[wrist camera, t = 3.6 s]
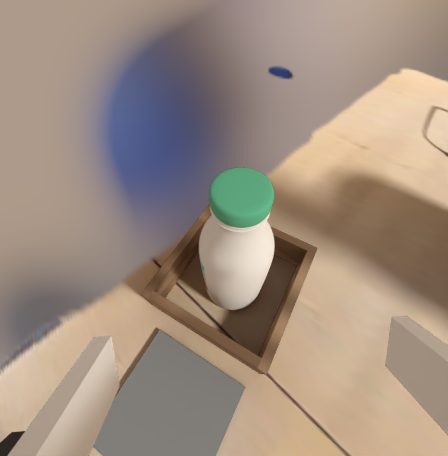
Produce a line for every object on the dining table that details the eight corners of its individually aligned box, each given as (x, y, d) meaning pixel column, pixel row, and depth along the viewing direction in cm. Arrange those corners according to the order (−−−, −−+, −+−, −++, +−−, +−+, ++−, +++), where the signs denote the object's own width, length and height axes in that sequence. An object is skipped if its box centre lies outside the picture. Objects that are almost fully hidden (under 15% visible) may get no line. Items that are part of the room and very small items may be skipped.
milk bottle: (270, 280, 33) (319, 183, 16) (236, 324, 30) (253, 261, 13) (229, 248, 36) (234, 137, 19) (194, 286, 33) (161, 193, 16)
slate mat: (160, 330, 30) (159, 329, 29) (244, 386, 27) (245, 387, 26) (89, 438, 24) (86, 440, 24) (184, 525, 21) (183, 529, 21)
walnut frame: (213, 218, 39) (212, 200, 35) (306, 263, 35) (317, 248, 30) (152, 304, 31) (140, 293, 27) (260, 374, 27) (266, 374, 23)
